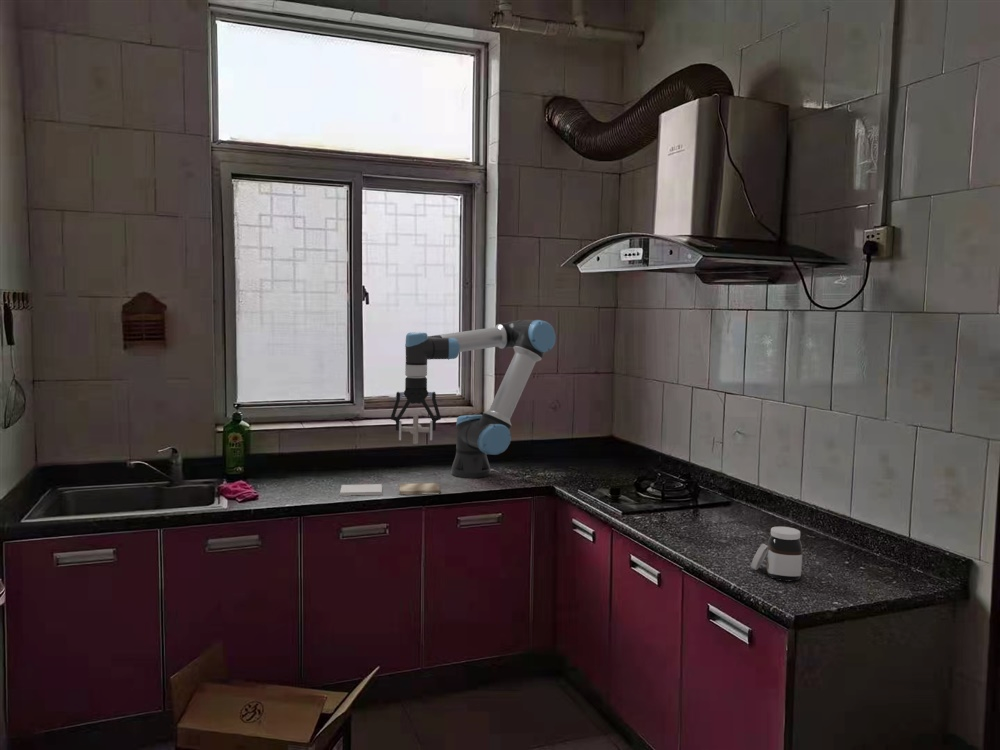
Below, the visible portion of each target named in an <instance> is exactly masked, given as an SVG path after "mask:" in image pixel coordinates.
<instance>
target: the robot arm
mask: <svg viewBox="0 0 1000 750" xmlns="http://www.w3.org/2000/svg"><path fill="white" fill-rule="evenodd" d="M556 336H557V335H556V332H555V329H554V327H553V325H552V324H550V323H549V322H548V321H547V320H546V321H545V320H542V319H519V320H514V321H508V322H506V323H505V322H504V323H498V324H496V325H495V327H487V328H480V329H473V330H466V331H457V332H450V333H442V334H436V335H428V333H427V332H416V331H415V332H407V333H406V336H405V345H404V347H405V371H404V373H405V376H406V377H405V382H404V384H405V385H404V389H405V390H404V391H397V392H396V399H395V402H394V406H393V409H392V412H391V415H390V420H391V421H392V420H393V421H395V431H398V440H399V441H402V431H401V427H402V420H400V419H401V418H402V417H403V415H404V413H405V412H406V410H407V408H408V407H409V406H410V404H411V405H412V404H422V405H423V407H424V409H425V410H426V413H427V414H428V416H429V417H430V419H431V420H430V421H429V426H430V433H429V441H433V432H434V431H436V429H437V428H436V426H437V425H436V424H437V421H439V420H441V419H442V417H441V414H440V413H441V412H440V410H439V407H438V403H437V399H436V397H437V395H436V394H437V393H436V392H435V391H428V378H427V376H428V360H448V361H449V360H454V359H457V358H458V357H459V354H460V353H464V352H469V351H476V350H483V349H490V348H491V349H492V348H499V349H501V350H503V349H513V351H514V354H513V356H512V359H511V361H510V363H509V366H508V368H507V370H506V372H505V374H504V376H503V379H502V380H501V383H500V385H499V386H498V387H499V388H498V389H497V392H496V394H495V396H494V399H493V400H492V402H491V405H490V406H489V409H488V410H486V411H483V413H482V414H469V415H467V414H466V415H460V416H458V417H457V418H456V424H455V427H456V428H455V429H456V430H455V432H456V434H455V437H456V439H455V440H456V441H455V442H456V443H455V445H456V447H455V449H456V450H455V457H454V460H453V462H452V466H451V471H450V472H451V475H453V476H455V477H458V478H464V479H465V478H466V479H467V478H468V479H473V478H474V479H475V478H484V477H488V476H490V475H491V465H490V463H489V460H488V456H487V455H491V456H492V455H493V456H497V455H500V454H502V453H504V452H506V450H507V449H508V447H509V446H510V444H511V441H512V436H511V431H510V430H511V428H512V423H511V419H512V416H513V414H514V412H515V409H516V407H517V405H518V403H519V400H520V399H521V397H522V393H523V392H524V389H525V387H526V385H527V382H528V380H529V378H530V376H531V374H532V372H533V369H534V367H535V365H536V363H538V362H540V361H542V359H543V357H544V355H545V353H547V352H549V351H551V350H552V349H553V347H554V346H555V344H556ZM403 396H404V397H405V398H406V401H405V402H404V405H403V406H402V408H401V410H400V412H399V413H398V414H397V416H396V413H397V411H398V408H399V403H400V401H401V399H402V398H403ZM427 397H429V398H430V399H431V401H432V405H433V407H434V411H435V415H436V416H435V415H434V413H433V412H432V410H431V408H430V406H429V404H428V403H427V401H426V399H427Z"/></svg>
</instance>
